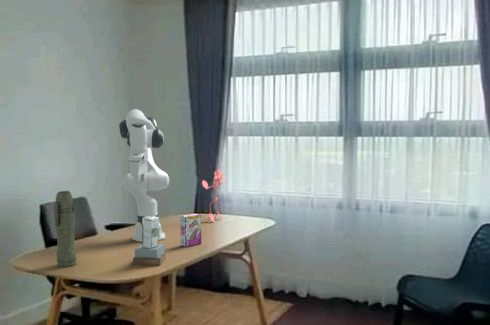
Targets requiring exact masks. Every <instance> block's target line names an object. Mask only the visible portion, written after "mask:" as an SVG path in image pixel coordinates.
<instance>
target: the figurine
mask: <svg viewBox="0 0 490 325" xmlns="http://www.w3.org/2000/svg"><path fill="white" fill-rule="evenodd" d="M223 174H224V172H222V171H221V169H220V168H219V169H217V170H216V171H214V173H213V175H214V177H213V182H212V185H211V186H209V184H208V182H207V181H206V180H205V179H203V180H202V181H201V183H202V186H203V188H205V190H208V189H210V188H213V190H214V191H215V192H217V188H220V186H221V185H222V184H223V181H222V180H224V181H225V182H226V183H229V181H228V180H227V179H226V178H225V177H224V176H223ZM218 201H219V199H218V196H217V193H215V197H214V198H213V201H212V202H211V203H210V204H209V205H211V204H213V203H214V202H216V206H217V207H216V208H217V210H216V215H215V217H214V215H213V213H212V208H211V206H209V211H210V212H209V214H208V219H207V221H206V222H209V220H210V222H212V223H215V220H216V218H217V216H219V217H220V219H221V220H223V217H222V216H221V214H220V213H219V205H218ZM228 223H229V221H228V222H227V221H226V224H228Z"/></svg>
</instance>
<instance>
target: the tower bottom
mask: <svg viewBox="0 0 490 325" xmlns="http://www.w3.org/2000/svg"><path fill="white" fill-rule="evenodd" d="M166 255H167V254H166V251H165V252H164V253H163V254H162V255H161V256H159V257H158V258H135V256H134V257H132V265H139V266H161V265H162V264H163V262H164V261H165V260H166V258H167V257H166Z"/></svg>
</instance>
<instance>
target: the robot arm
mask: <svg viewBox="0 0 490 325" xmlns="http://www.w3.org/2000/svg"><path fill="white" fill-rule="evenodd" d="M156 121H157V120H155V118H154V117H152V116H146V115H145V114H144V112H143V111H141V110H140V109H137V108H135V109H131V110H129V112H128V113H127V115H126V118H125V119H123V120H122V121H120V122H119V123H118V133H119V136H120V137H121V138H122V139H126V142H127V143H126V145H127V146H129V148H130V149H129V156H128V161H129V169H130V170H129V171H130V173H129V172H128V173H126V174H125V176H124V177H123V186H124V189H125V190H126V191H128V192H130V194H132V195H133V197H134V198H135V201H136V207H137V215H136V222H137V223H136V224H135V225H134V236H133V237H131V240H133V241H136V242H141V243H142V218H144V217H147V216H156V217H159V213H158V201H157V200H156V198H154V197H152V196H150V195H148V194H147V192H149V191H160V190H164V189H166V188H168V187H169V185H170V177H169V175H168V173H167V172H166V171H164V170H162V169H160V167H158V166H157V164H156V163H155V161H154V157H153V151H152V149H160V148H161V147H162V146H163V145H164V140H165V138H164V133H163V132H162V130H161V129H160V128H158V125H157V122H156ZM159 218H160V217H159ZM165 239H166V233H165V232H163V230H162V225H161V223H160V222H159V238H158V241H162V240H165Z"/></svg>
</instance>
